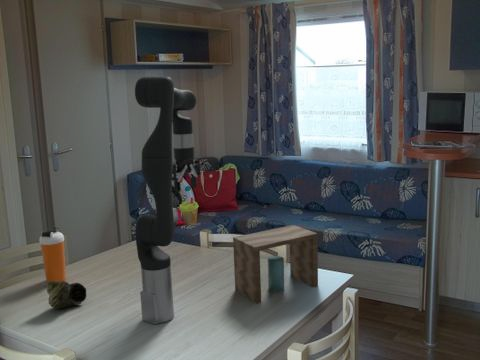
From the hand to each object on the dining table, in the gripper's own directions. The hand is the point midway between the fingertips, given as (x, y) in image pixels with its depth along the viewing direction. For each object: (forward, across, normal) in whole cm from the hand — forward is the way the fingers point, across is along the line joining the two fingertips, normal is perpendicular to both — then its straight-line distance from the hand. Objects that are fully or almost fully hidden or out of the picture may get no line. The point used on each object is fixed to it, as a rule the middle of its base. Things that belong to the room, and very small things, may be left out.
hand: (186, 189), depth 197 cm
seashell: (+34, -44, +16) cm, 58 cm away
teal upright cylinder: (+34, +8, -34) cm, 49 cm away
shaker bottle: (+34, -31, +42) cm, 62 cm away
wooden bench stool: (+34, +8, -34) cm, 49 cm away
